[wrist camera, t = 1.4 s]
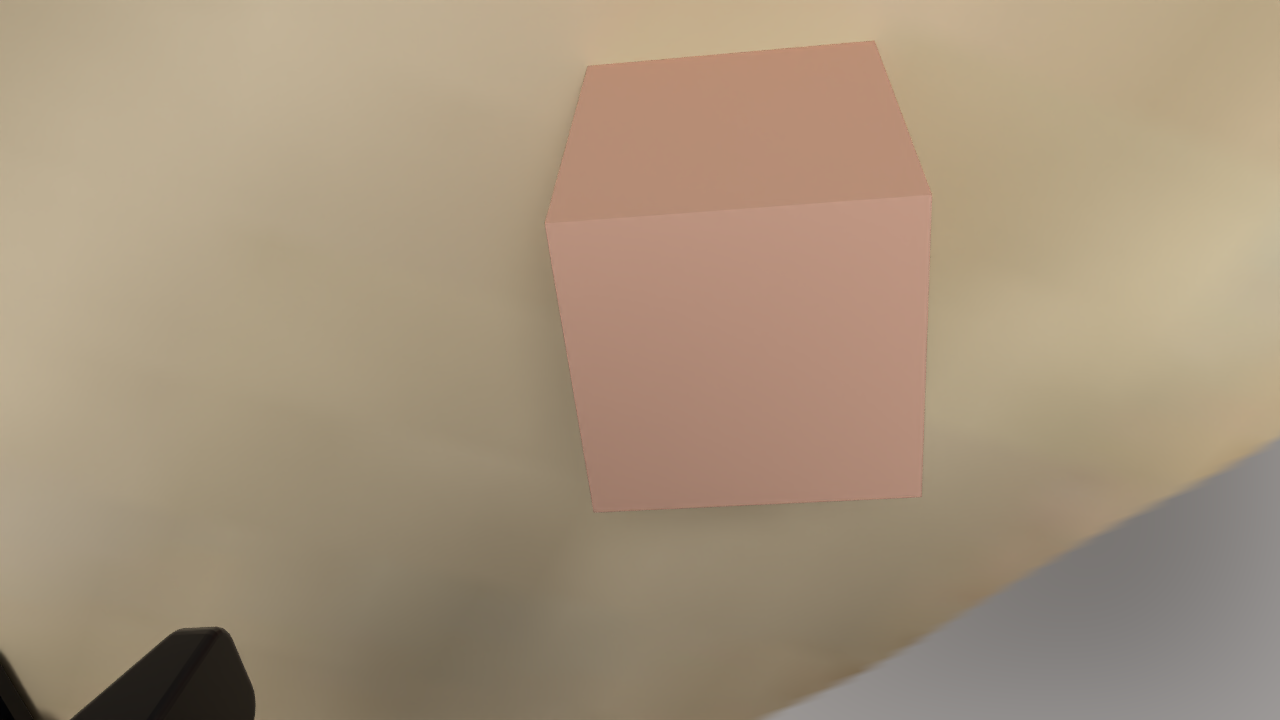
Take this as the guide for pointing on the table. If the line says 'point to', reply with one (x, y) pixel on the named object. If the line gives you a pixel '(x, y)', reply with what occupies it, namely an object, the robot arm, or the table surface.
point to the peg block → (744, 280)
